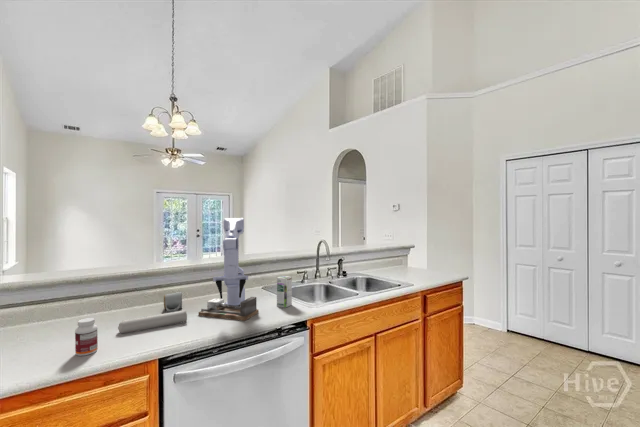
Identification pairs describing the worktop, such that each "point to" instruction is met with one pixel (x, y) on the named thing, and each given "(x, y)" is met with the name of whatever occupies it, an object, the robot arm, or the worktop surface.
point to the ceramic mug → (173, 301)
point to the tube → (152, 321)
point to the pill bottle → (86, 337)
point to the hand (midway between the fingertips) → (230, 298)
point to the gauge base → (234, 311)
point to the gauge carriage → (216, 304)
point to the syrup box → (284, 291)
